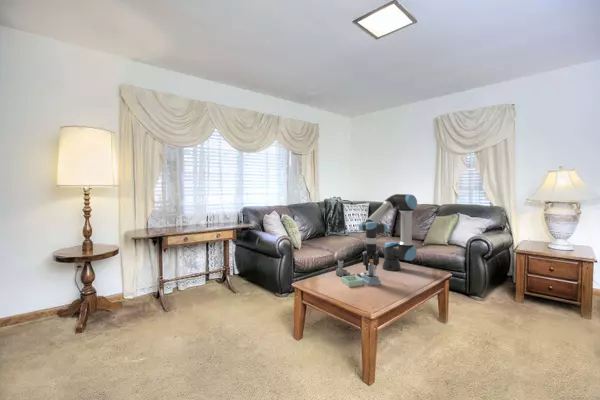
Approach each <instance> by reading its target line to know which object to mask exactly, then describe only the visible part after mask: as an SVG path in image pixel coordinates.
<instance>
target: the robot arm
mask: <svg viewBox="0 0 600 400" xmlns="http://www.w3.org/2000/svg"><path fill="white" fill-rule="evenodd" d="M417 206H418V199H417V198H416V196H415V195H414V194H411V193H410V194H409V193H408V194H404V193H401V194H400V193H399V194H398V193H396V194H392V195H390V196H389V197H388V198H386V199H384V201H383V202H382V205H380V206H379V208H378V209H376V210H375V212H373V213H372V214H371V215H370V216H369V217H368V218H367V219H366V220H365V221H360V222H359V223H358V224H359V225H358V229H359V230H360V232H365V251H362V256H363V257H362V265H363V266H365V271H366V272H367V275H369V261H370V259H372V260H374V275H376V273H377V272H376V270H377V266H378V265H379V264H380V250H377V235H381V234H385V233H386V232H387V231H388V225H387V224H386V223H384V222H383V223H382V222H381V223H379V222H380V221H381V220H382V219H383V218H384V217H385V216H386V215H387V214H388V213H389V212H390V211H393V209H398V212H399V213H400V241H389V242H385V243H384V260H383V262H382V265H381V266H382V269H383V270H385V271H392V272H397V271H401V268H402V267H401V264H400V260H405V261H411V262H412V261H413V260H414V259H415V258H416V256H417V248H416V247H415V246H414V243H413V242H412V239H413V237H412V235H413V232H412V231H413V229H412V228H413V220H412V219H413V213H414V211H415V209H416V208H417ZM371 257H372V258H371ZM399 259H400V260H399ZM376 276H377V275H376Z"/></svg>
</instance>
